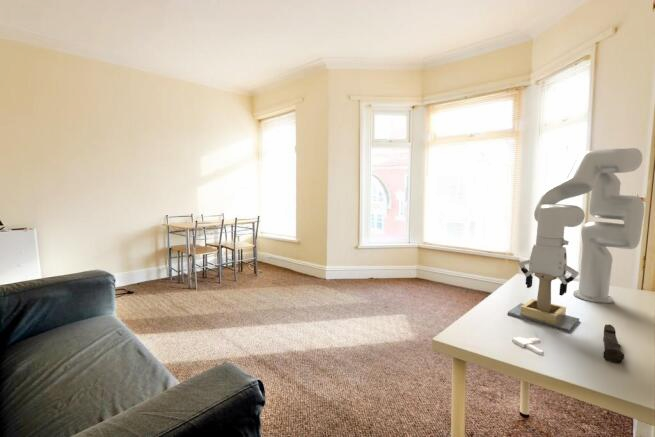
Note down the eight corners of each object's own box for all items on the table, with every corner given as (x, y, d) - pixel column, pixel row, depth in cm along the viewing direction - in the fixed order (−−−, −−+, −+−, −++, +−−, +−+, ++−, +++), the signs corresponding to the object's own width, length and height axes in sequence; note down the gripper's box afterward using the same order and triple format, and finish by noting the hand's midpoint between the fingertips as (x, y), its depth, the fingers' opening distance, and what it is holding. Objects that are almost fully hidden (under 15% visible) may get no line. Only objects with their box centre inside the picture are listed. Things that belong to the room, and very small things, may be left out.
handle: (550, 319, 107) (553, 276, 105) (529, 313, 112) (532, 272, 110) (556, 316, 110) (559, 274, 108) (535, 310, 115) (538, 270, 113)
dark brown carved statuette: (623, 366, 82) (625, 349, 81) (602, 361, 85) (604, 344, 84) (619, 339, 96) (621, 325, 96) (601, 335, 99) (603, 321, 98)
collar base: (520, 305, 122) (521, 295, 121) (579, 321, 108) (580, 310, 108) (507, 314, 113) (508, 303, 113) (569, 332, 100) (570, 320, 99)
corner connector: (558, 353, 89) (558, 347, 89) (536, 357, 87) (536, 351, 87) (532, 339, 97) (533, 334, 97) (511, 343, 94) (512, 338, 94)
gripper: (583, 244, 104) (578, 295, 106) (524, 237, 117) (521, 282, 119) (578, 247, 99) (573, 300, 101) (517, 239, 112) (513, 286, 114)
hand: (545, 290), depth 110 cm, fingers open, 9 cm apart
